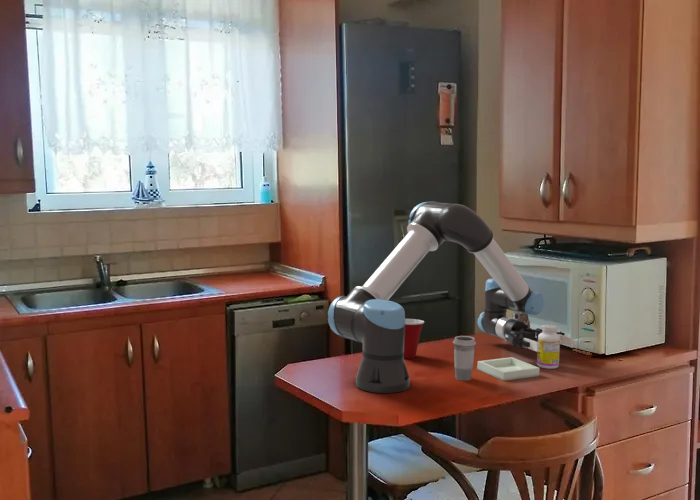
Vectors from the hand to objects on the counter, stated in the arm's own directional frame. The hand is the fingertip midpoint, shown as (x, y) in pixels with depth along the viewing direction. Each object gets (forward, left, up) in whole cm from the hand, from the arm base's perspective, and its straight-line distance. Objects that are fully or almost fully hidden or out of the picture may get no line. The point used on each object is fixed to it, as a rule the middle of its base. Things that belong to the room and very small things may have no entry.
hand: (555, 345), depth 230 cm
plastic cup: (-35, +30, -8) cm, 47 cm away
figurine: (+13, +33, -8) cm, 36 cm away
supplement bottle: (0, +3, -8) cm, 8 cm away
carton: (+28, +10, -8) cm, 31 cm away
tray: (-16, +2, -7) cm, 18 cm away
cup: (-32, +2, -8) cm, 33 cm away
